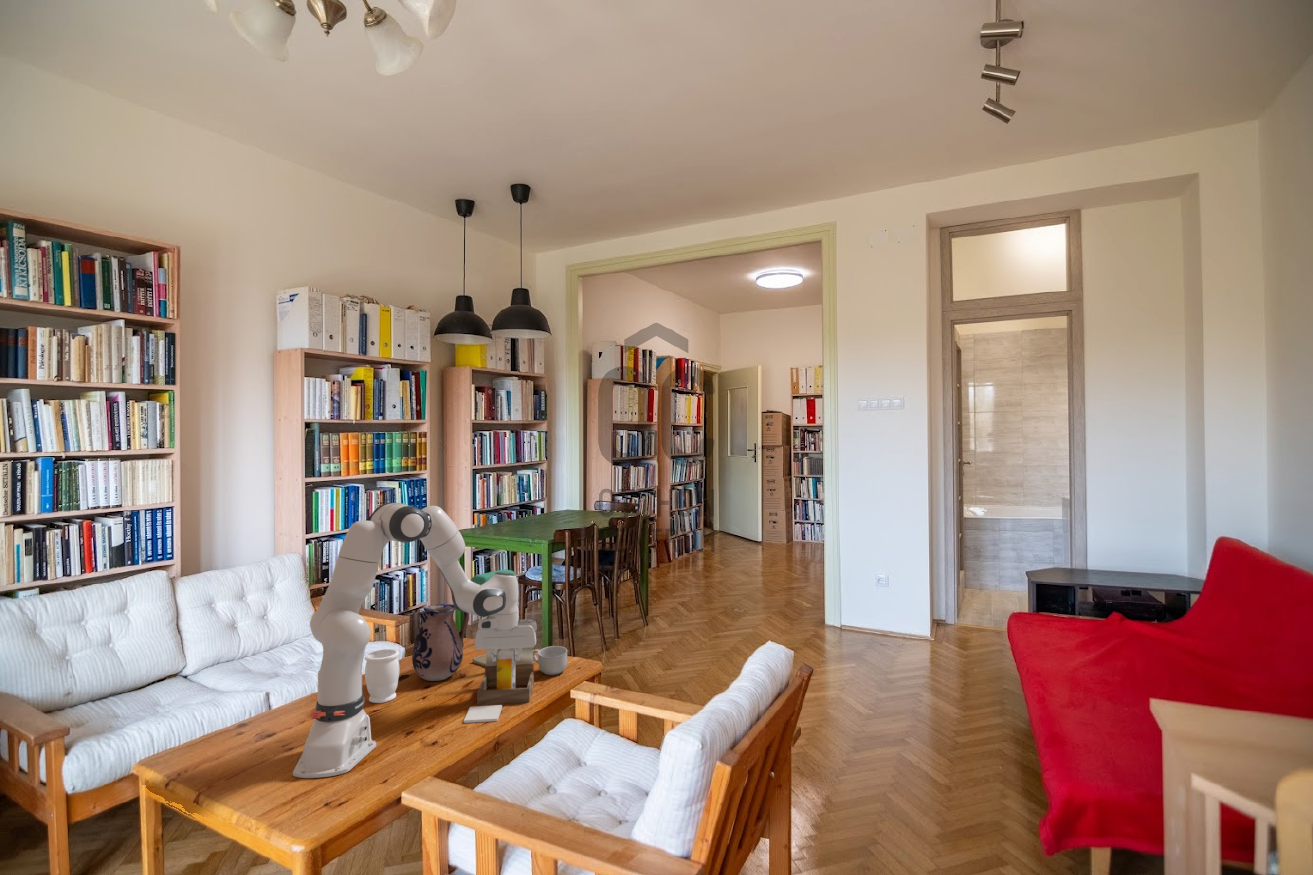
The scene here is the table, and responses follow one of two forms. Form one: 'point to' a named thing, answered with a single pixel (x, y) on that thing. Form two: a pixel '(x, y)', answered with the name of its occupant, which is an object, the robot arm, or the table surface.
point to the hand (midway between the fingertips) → (506, 661)
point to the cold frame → (522, 677)
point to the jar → (382, 674)
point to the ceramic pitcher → (438, 643)
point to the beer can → (506, 668)
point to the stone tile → (483, 714)
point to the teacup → (551, 659)
